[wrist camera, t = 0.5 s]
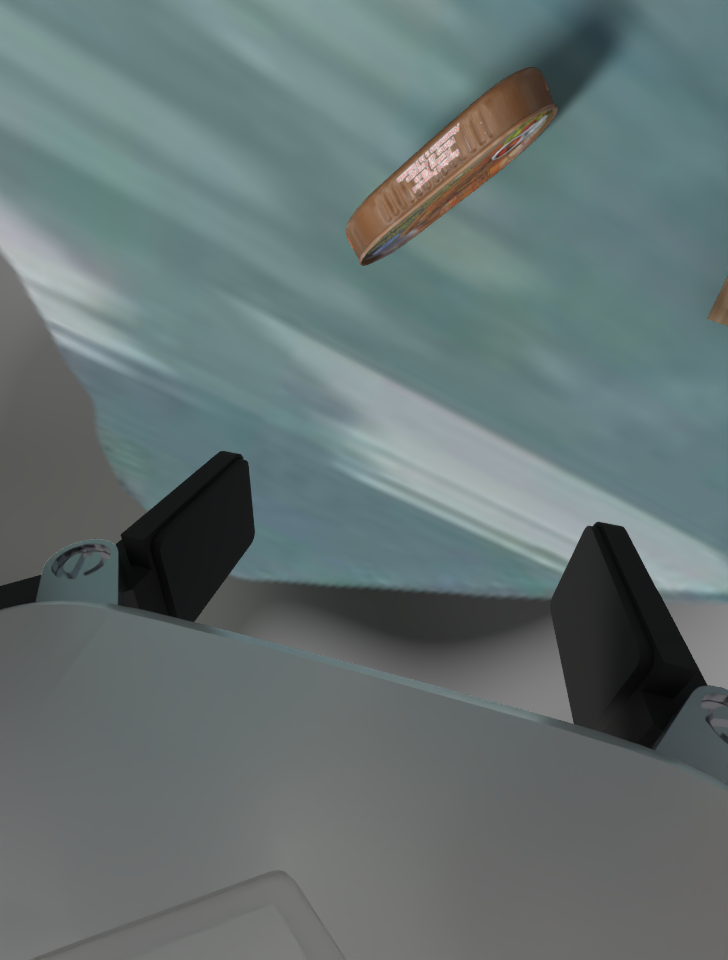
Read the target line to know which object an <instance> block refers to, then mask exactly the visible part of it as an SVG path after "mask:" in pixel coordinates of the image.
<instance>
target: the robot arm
mask: <svg viewBox="0 0 728 960" xmlns="http://www.w3.org/2000/svg"><path fill="white" fill-rule="evenodd" d="M254 534H255V529H254V518H253V508H252V497H251V486H250V476H249V465H248V462H247V461H246V460H244V459H243V457H242V455H241V454H236V453H231V452H226V451H220V452H219V453H217V454H216V455H215V456H214V457H213V458H211V459H210V460H209V461H208V462H207V463H205V464H204V465H203V466H202V467H201V468H200V469H198V470H197V471H196V472H195V473H194V474H192V475H191V476H190V477H189V478H188V479H186V480H185V481H184V482H183V483H182V484H180V485H179V486H178V487H177V488H176V489H174V490H173V491H172V492H171V493H170V494H169V495H167V496H166V497H165V498H164V499H163V500H161V501H160V502H159V503H158V504H157V505H155V506H154V507H153V508H152V509H151V510H149V511H148V512H147V513H146V514H145V515H143V516H142V517H141V518H140V519H139V520H137V521H136V522H135V523H134V524H133V525H132V526H131V527H129V528H128V529H127V530H126V531H124V532H123V533H122V534H121V537H122V540H121V541H119V542H118V543H117V544H116V545H115V544H113V543H112V542H110V541H106V540H100V539H94V540H85V541H81V542H78V543H74V544H72V545H69V546H67V547H65V548H63V549H61V550H60V551H58V552H57V553H55V554H54V555H53V556H51V557H50V559H49V560H48V561H47V562H46V563H45V566H44V568H43V570H42V575H39V576H35V577H32V578H28V579H24V580H21V581H17V582H14V583H10V584H7V585H2V586H0V960H728V690H727V689H724V688H721V687H716V686H710V685H709V686H708V685H707V684H706V682H705V680H704V678H703V676H702V674H701V672H700V670H699V668H698V666H697V664H696V663H695V661H694V659H693V657H692V655H691V653H690V651H689V649H688V647H687V645H686V643H685V641H684V640H683V638H682V636H681V634H680V632H679V630H678V628H677V626H676V624H675V622H674V620H673V618H672V617H671V615H670V613H669V611H668V609H667V607H666V605H665V603H664V601H663V599H662V597H661V595H660V594H659V592H658V591H657V589H656V587H655V585H654V583H653V581H652V579H651V578H650V576H649V574H648V572H647V570H646V568H645V566H644V564H643V562H642V560H641V558H640V556H639V554H638V553H637V551H636V549H635V547H634V545H633V543H632V541H631V539H630V537H629V535H628V533H627V531H626V530H625V528H624V527H622V526H618V525H612V524H607V523H602V522H597V523H595V524H594V525H593V526H587V527H586V528H585V530H584V532H583V534H582V536H581V538H580V540H579V542H578V544H577V546H576V548H575V550H574V553H573V555H572V557H571V559H570V561H569V563H568V565H567V567H566V569H565V571H564V574H563V576H562V578H561V580H560V582H559V584H558V586H557V588H556V590H555V592H554V595H553V597H552V600H551V615H552V620H553V625H554V629H555V634H556V639H557V644H558V648H559V654H560V659H561V664H562V668H563V673H564V678H565V683H566V688H567V693H568V698H569V702H570V707H571V712H572V717H573V722H574V724H571V723H568V722H565V721H561V720H557V719H554V718H551V717H547V716H544V715H540V714H537V713H533V712H530V711H526V710H523V709H519V708H515V707H511V706H508V705H504V704H500V703H497V702H493V701H490V700H486V699H482V698H478V697H475V696H471V695H468V694H464V693H460V692H456V691H452V690H449V689H445V688H442V687H438V686H434V685H430V684H427V683H423V682H419V681H416V680H412V679H408V678H405V677H401V676H397V675H393V674H390V673H386V672H382V671H378V670H375V669H371V668H367V667H363V666H360V665H356V664H352V663H348V662H345V661H341V660H337V659H333V658H329V657H326V656H322V655H318V654H314V653H311V652H307V651H303V650H299V649H296V648H292V647H288V646H284V645H280V644H276V643H273V642H268V641H265V640H261V639H257V638H253V637H249V636H246V635H242V634H238V633H234V632H230V631H226V630H223V629H219V628H215V627H211V626H207V625H203V624H199V623H195V622H194V621H195V620H196V619H197V617H198V616H199V615H200V613H201V612H202V610H203V609H204V608H205V606H206V605H207V604H208V602H209V601H210V599H211V598H212V597H213V595H214V594H215V593H216V591H217V590H218V589H219V587H220V586H221V584H222V583H223V582H224V580H225V579H226V578H227V576H228V575H229V574H230V572H231V571H232V569H233V568H234V567H235V565H236V564H237V563H238V561H239V560H240V558H241V557H242V556H243V554H244V553H245V552H246V550H247V549H248V547H249V546H250V545H251V543H252V541H253V539H254Z"/></svg>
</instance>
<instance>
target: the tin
mask: <svg viewBox="0 0 728 960" xmlns="http://www.w3.org/2000/svg"><path fill="white" fill-rule="evenodd" d="M557 111H558V107H557V105H555V104H554V102H553V100H552V97H551V95H550V92H549V90H548V87H547V84H546V82H545V79H544V77H543V75H542V73H541V72H540V71H539V70H538V69H537V68H535V67H529V68H525V69H522V70H520V71H518V72H515V73H513V74H512V75H510V76H508V77H507V78H505V79H503V80H502V81H501V82H499V83H498V84H496V85H495V86H494V87H492V88H491V89H490V90H488V91H487V92H486V93H484V94H483V95H482V96H481V97H480V98H478V99H477V100H476V101H475V102H474V103H472V104H471V105H470V106H469V107H468V108H467V109H466V110H464V111H463V112H462V113H461V114H460V115H459V116H457V117H456V118H455V119H454V120H453V121H452V122H451V123H449V124H448V125H447V126H446V127H445V128H444V129H443V130H441V131H440V132H439V133H438V134H437V135H436V136H435V137H433V138H432V139H431V140H430V141H429V142H428V143H427V144H426V145H424V146H423V147H422V148H421V149H420V150H419V151H418V152H417V153H416V154H414V155H413V156H412V157H411V158H410V159H409V160H408V161H406V162H405V163H404V164H403V165H402V166H401V167H400V168H399V169H398V170H397V171H395V172H394V173H393V174H392V175H391V176H390V177H389V178H388V179H387V180H385V181H384V182H383V183H382V184H381V185H380V186H379V187H378V188H377V189H375V190H374V191H373V192H372V193H371V194H370V195H369V196H368V197H367V198H366V199H365V200H364V202H363V203H362V204H361V205H360V206H359V207H358V208H357V209H356V211H355V212H354V214H353V215H352V217H351V218H350V220H349V222H348V224H347V227H346V236H347V238H348V240H349V242H350V244H351V246H352V248H353V250H354V251H355V253H356V255H357V257H358V259H359V263H360V265H362V266H364V265H369V264H371V263H373V262H375V261H377V260H380V259H381V258H383V257H385V256H387V255H389V254H391V253H392V252H394V251H395V250H397V249H398V248H400V247H401V246H403V245H404V244H405V243H407V242H408V241H409V240H411V239H412V238H414V237H415V236H416V235H418V234H419V233H420V232H422V231H423V230H424V229H425V228H427V227H428V226H429V225H431V224H432V223H433V222H434V221H436V220H437V219H438V218H440V217H441V216H442V215H443V214H445V213H446V212H447V211H449V210H450V209H451V208H452V207H454V206H455V205H456V204H458V203H459V202H460V201H462V200H463V199H464V198H465V197H467V196H468V195H469V194H471V193H472V192H473V191H475V190H476V189H477V188H479V187H480V186H481V185H482V184H484V183H485V182H486V181H487V180H489V179H490V178H491V177H493V176H494V175H495V174H497V173H498V172H499V171H500V170H502V169H503V168H504V167H505V166H506V165H508V164H509V163H510V162H511V161H512V160H513V159H514V158H516V157H517V156H518V155H519V154H520V153H521V152H522V151H523V150H525V149H526V148H527V147H528V146H529V145H530V144H531V143H532V142H533V141H534V140H535V139H536V138H537V137H538V136H539V135H540V134H541V133H542V132H543V131H544V129H545V128H546V127H547V126H548V125H549V123H550V122H551V121H552V120H553V118H554V117H555V115H556V114H557Z"/></svg>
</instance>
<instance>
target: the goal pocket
mask: <svg viewBox="0 0 728 960" xmlns="http://www.w3.org/2000/svg"><path fill="white" fill-rule="evenodd" d="M707 319H709V320H712V321H715V322H717V323H720V324H723V325H726V326H728V277H727V279H726V281H725V283H724V285H723V287H722V289H721V292H720V294H719V296H718V298H717V300H716V302H715V304H714V306H713V308H712V310H711V312H710V314H709V316H708V318H707Z"/></svg>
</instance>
